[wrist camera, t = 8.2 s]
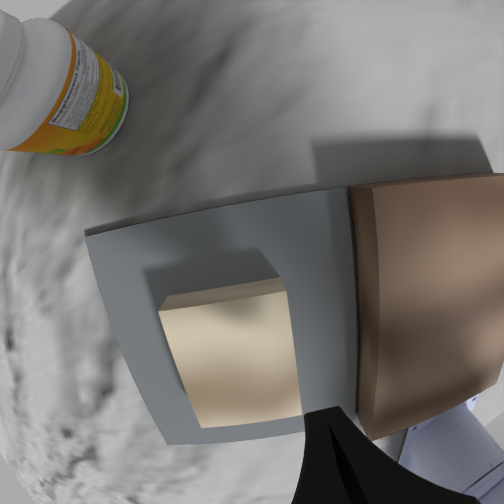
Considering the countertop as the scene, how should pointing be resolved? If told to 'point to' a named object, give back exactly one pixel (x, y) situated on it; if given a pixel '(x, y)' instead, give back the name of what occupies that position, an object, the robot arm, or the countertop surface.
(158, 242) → the grey flat slab
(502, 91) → the countertop surface
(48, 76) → the supplement bottle
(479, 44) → the countertop surface
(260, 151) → the countertop surface
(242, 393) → the birch tile
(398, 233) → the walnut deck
